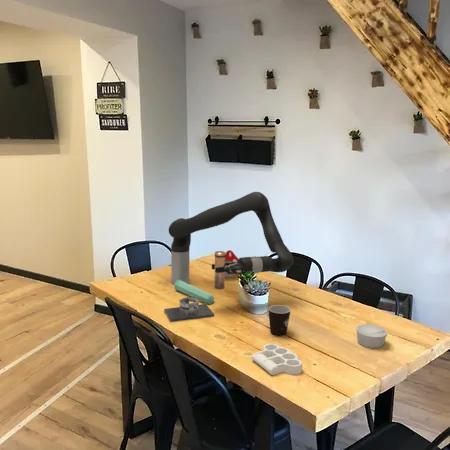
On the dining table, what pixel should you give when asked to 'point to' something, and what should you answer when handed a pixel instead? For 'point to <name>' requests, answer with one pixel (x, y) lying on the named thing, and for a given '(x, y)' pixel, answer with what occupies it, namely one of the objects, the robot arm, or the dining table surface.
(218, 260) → the metal tube
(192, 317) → the stove plate
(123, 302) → the dining table surface
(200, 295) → the container
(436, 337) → the dining table surface
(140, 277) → the dining table surface
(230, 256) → the decorative mushroom
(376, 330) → the ramekin
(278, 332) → the coffee mug
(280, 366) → the grey compartment tray
